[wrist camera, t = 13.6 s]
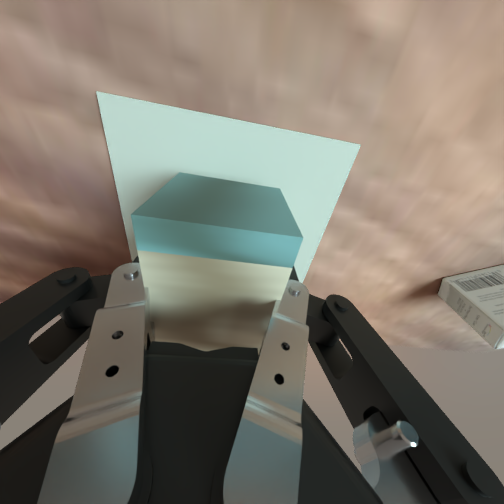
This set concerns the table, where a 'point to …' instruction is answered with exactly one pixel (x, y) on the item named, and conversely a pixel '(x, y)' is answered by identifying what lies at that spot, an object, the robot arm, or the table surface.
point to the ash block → (214, 259)
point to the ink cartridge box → (478, 301)
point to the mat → (223, 161)
